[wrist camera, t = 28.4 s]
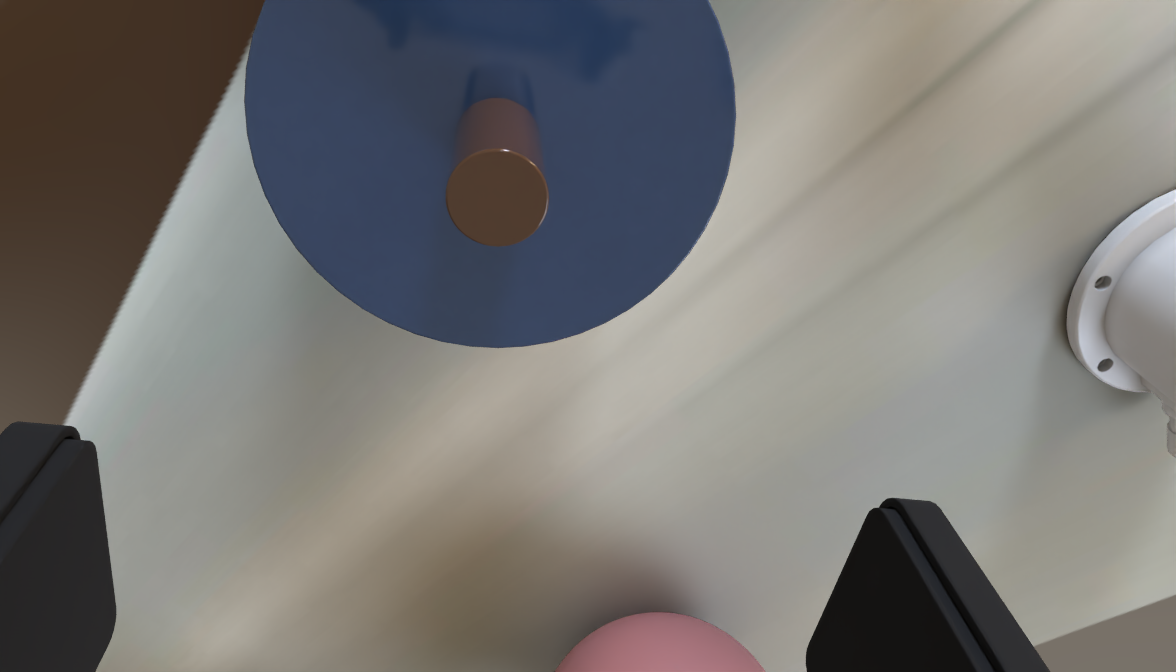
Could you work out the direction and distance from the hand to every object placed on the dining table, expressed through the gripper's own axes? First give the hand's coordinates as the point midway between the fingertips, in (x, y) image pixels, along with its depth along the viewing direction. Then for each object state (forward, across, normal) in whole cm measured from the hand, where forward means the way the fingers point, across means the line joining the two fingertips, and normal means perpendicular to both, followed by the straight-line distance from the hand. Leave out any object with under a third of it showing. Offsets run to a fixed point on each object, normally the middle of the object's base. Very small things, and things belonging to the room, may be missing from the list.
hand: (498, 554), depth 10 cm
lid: (+18, 0, 0) cm, 18 cm away
